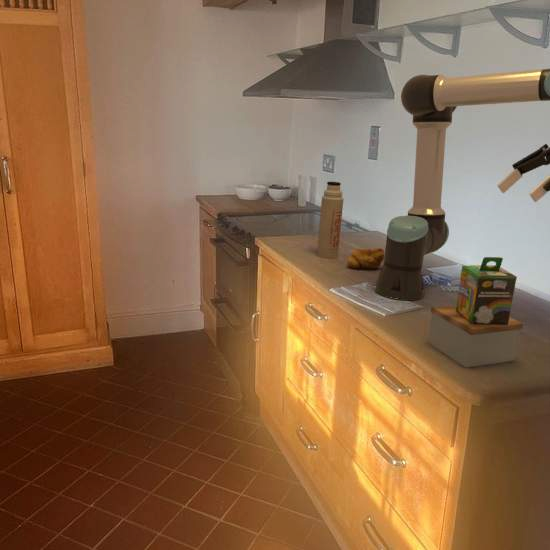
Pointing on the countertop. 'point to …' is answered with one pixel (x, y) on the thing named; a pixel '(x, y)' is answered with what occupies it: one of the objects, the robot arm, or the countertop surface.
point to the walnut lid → (458, 320)
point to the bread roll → (366, 258)
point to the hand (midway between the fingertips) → (515, 193)
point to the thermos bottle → (330, 221)
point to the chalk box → (486, 293)
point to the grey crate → (472, 343)
